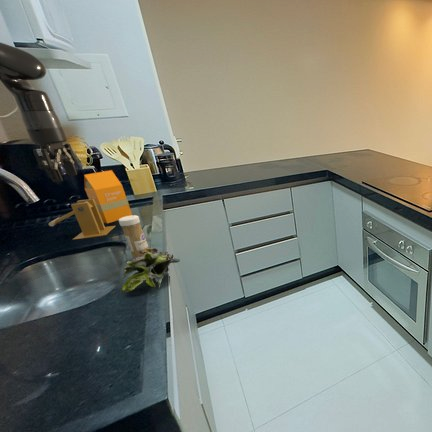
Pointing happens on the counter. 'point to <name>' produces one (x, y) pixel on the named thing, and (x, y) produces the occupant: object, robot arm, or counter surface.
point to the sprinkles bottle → (134, 235)
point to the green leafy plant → (147, 268)
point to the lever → (63, 217)
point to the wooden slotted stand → (89, 219)
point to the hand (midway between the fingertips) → (65, 178)
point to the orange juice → (107, 195)
